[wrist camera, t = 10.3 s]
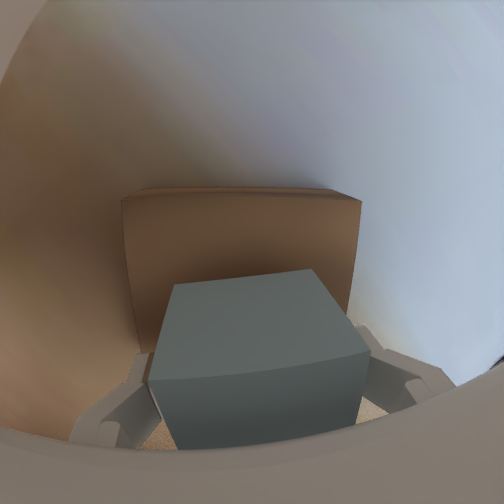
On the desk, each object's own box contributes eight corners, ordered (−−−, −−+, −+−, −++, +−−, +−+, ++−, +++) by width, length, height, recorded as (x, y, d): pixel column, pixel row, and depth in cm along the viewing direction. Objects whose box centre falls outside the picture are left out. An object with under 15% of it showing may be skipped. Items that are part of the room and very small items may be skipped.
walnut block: (144, 188, 15) (120, 200, 11) (329, 188, 16) (361, 201, 12) (159, 347, 18) (150, 389, 14) (312, 342, 19) (331, 382, 15)
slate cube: (174, 284, 11) (148, 379, 6) (311, 268, 11) (371, 350, 6) (197, 385, 12) (194, 481, 7) (309, 371, 13) (345, 459, 8)
